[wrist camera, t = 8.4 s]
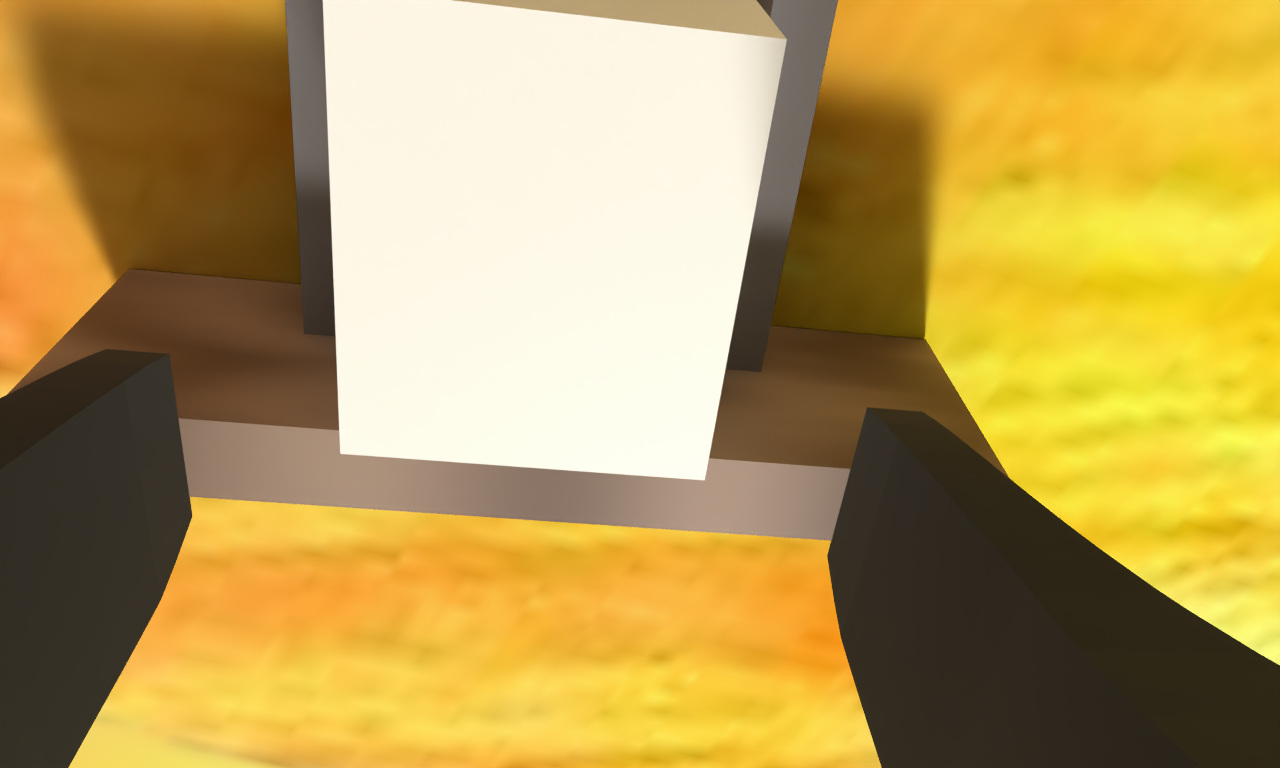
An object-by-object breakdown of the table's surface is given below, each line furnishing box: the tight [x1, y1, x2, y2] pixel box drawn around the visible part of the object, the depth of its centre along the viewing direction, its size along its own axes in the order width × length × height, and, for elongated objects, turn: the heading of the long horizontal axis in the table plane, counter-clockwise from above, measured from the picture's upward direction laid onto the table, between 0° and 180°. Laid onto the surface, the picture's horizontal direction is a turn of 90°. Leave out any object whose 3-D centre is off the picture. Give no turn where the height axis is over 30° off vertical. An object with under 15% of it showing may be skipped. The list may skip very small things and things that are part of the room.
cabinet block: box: [323, 0, 787, 480], centre depth 15 cm, size 5×7×7 cm
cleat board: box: [7, 0, 1010, 540], centre depth 16 cm, size 16×10×5 cm, turn 83°
